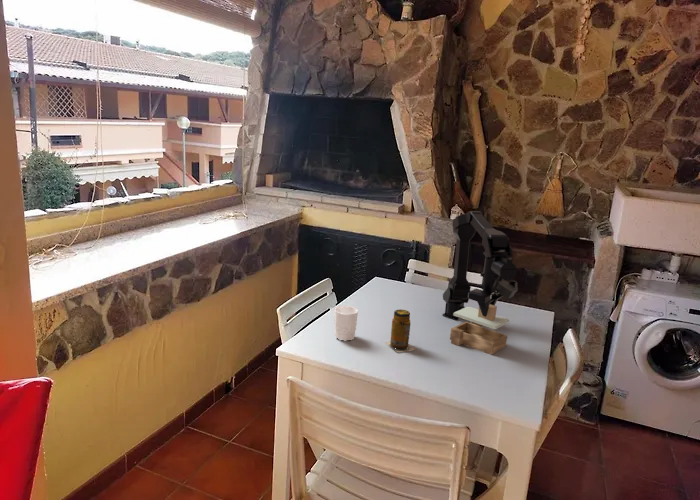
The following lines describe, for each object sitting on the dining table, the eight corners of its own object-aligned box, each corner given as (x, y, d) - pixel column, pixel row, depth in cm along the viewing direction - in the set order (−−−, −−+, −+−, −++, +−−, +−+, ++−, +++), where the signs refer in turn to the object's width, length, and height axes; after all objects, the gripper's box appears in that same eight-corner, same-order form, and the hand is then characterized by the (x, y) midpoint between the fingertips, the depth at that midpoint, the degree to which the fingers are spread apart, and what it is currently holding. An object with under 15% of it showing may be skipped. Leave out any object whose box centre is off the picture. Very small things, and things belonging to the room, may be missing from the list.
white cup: (359, 335, 179) (361, 308, 177) (350, 344, 172) (352, 316, 170) (339, 330, 182) (340, 304, 180) (329, 338, 175) (330, 311, 173)
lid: (453, 315, 178) (454, 300, 177) (467, 308, 185) (469, 294, 184) (495, 329, 168) (497, 313, 166) (509, 322, 175) (511, 306, 173)
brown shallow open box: (445, 341, 179) (447, 327, 177) (468, 329, 189) (469, 316, 188) (487, 357, 168) (489, 342, 167) (509, 344, 179) (510, 330, 178)
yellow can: (402, 339, 178) (405, 307, 175) (416, 350, 171) (419, 316, 168) (384, 342, 175) (387, 309, 172) (397, 353, 167) (400, 318, 164)
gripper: (501, 282, 159) (495, 329, 163) (527, 271, 172) (521, 315, 176) (469, 273, 166) (464, 319, 170) (497, 264, 179) (491, 306, 183)
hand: (486, 315), depth 175 cm, fingers closed on lid, 3 cm apart
